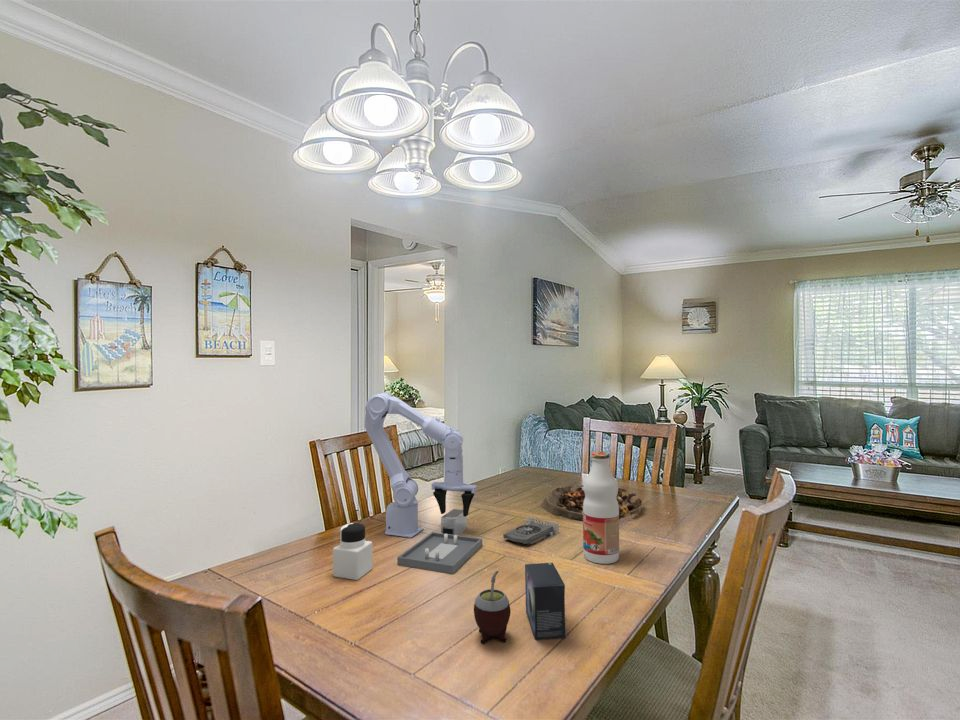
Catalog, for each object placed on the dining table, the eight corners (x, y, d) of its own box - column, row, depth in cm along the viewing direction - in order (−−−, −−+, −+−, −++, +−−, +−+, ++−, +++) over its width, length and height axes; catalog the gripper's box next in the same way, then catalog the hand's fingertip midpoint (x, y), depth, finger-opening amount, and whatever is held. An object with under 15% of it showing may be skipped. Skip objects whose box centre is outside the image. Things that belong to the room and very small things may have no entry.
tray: (397, 564, 130) (397, 551, 130) (432, 538, 149) (432, 526, 149) (453, 574, 124) (453, 560, 124) (482, 545, 143) (482, 533, 143)
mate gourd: (489, 622, 101) (488, 549, 101) (521, 636, 96) (520, 558, 96) (465, 639, 95) (464, 560, 95) (497, 654, 90) (497, 571, 90)
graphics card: (527, 515, 160) (559, 522, 152) (527, 526, 160) (559, 534, 152) (494, 529, 148) (527, 538, 140) (494, 542, 148) (527, 551, 140)
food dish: (651, 506, 183) (652, 485, 182) (625, 535, 155) (626, 511, 154) (562, 490, 202) (562, 471, 201) (524, 514, 174) (524, 491, 173)
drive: (441, 537, 150) (441, 517, 150) (453, 527, 159) (453, 508, 159) (454, 539, 149) (454, 518, 149) (466, 529, 157) (466, 509, 157)
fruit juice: (623, 564, 129) (622, 456, 129) (587, 565, 129) (586, 456, 129) (614, 550, 138) (613, 449, 138) (580, 550, 138) (579, 450, 138)
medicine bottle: (373, 568, 128) (372, 522, 128) (357, 580, 121) (357, 531, 121) (349, 565, 130) (348, 519, 130) (332, 576, 123) (332, 528, 123)
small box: (523, 612, 105) (523, 562, 105) (554, 610, 106) (553, 561, 106) (533, 640, 95) (532, 585, 95) (567, 638, 95) (566, 583, 95)
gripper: (480, 469, 155) (481, 512, 155) (438, 466, 160) (439, 508, 160) (471, 474, 148) (472, 519, 148) (428, 470, 153) (428, 514, 153)
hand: (454, 514), depth 154 cm, fingers open, 7 cm apart
